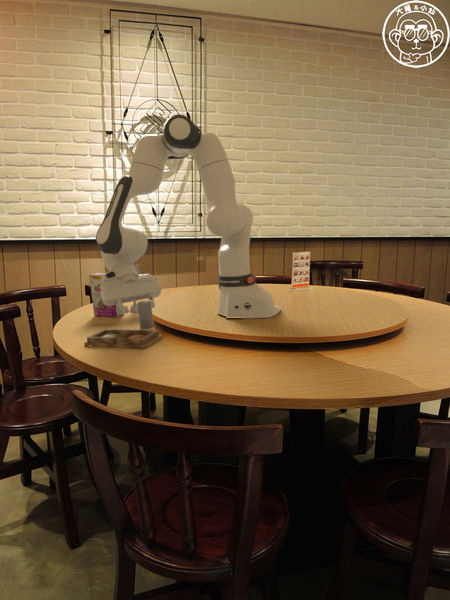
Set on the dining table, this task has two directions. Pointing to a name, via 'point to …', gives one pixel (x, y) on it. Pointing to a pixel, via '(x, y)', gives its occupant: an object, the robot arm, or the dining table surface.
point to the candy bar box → (98, 304)
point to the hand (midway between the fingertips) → (139, 309)
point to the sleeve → (145, 315)
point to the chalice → (135, 307)
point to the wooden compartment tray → (124, 338)
